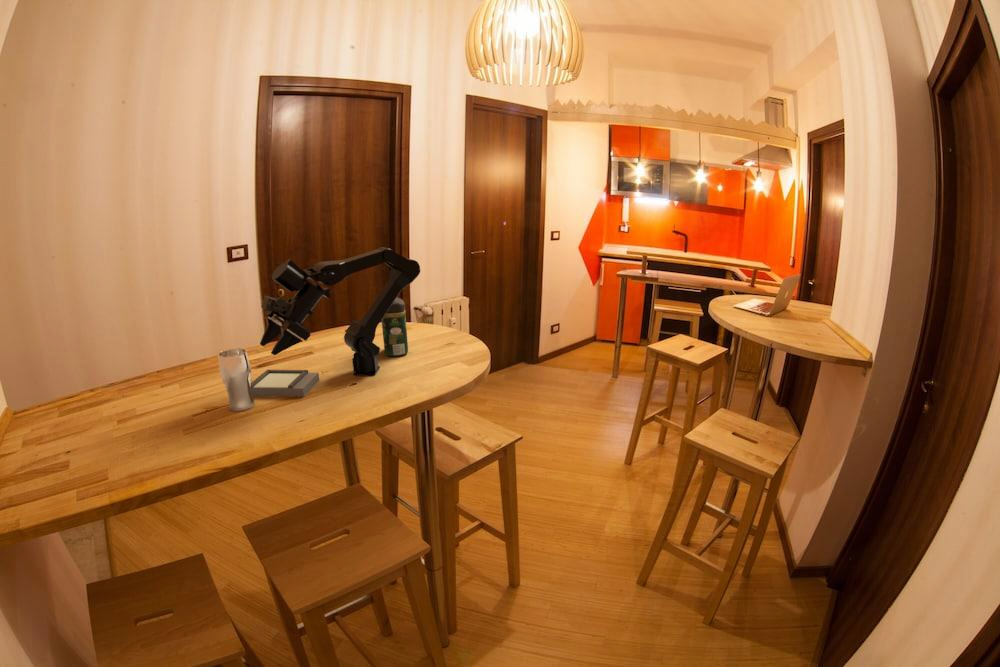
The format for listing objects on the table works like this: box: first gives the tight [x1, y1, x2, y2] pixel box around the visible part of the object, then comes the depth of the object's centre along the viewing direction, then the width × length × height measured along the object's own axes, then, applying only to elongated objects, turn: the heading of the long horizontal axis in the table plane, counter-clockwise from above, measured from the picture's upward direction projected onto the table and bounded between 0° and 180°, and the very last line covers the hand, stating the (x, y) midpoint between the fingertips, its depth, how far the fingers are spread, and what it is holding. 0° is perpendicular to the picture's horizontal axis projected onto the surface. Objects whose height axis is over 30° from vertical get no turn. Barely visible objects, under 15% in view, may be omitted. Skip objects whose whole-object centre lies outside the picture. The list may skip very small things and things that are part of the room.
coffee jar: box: [381, 296, 409, 357], centre depth 166 cm, size 10×8×19 cm
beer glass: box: [217, 347, 256, 412], centre depth 129 cm, size 7×7×15 cm
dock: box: [251, 369, 320, 398], centre depth 142 cm, size 15×11×3 cm
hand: (266, 349), depth 132 cm, fingers open, 9 cm apart
